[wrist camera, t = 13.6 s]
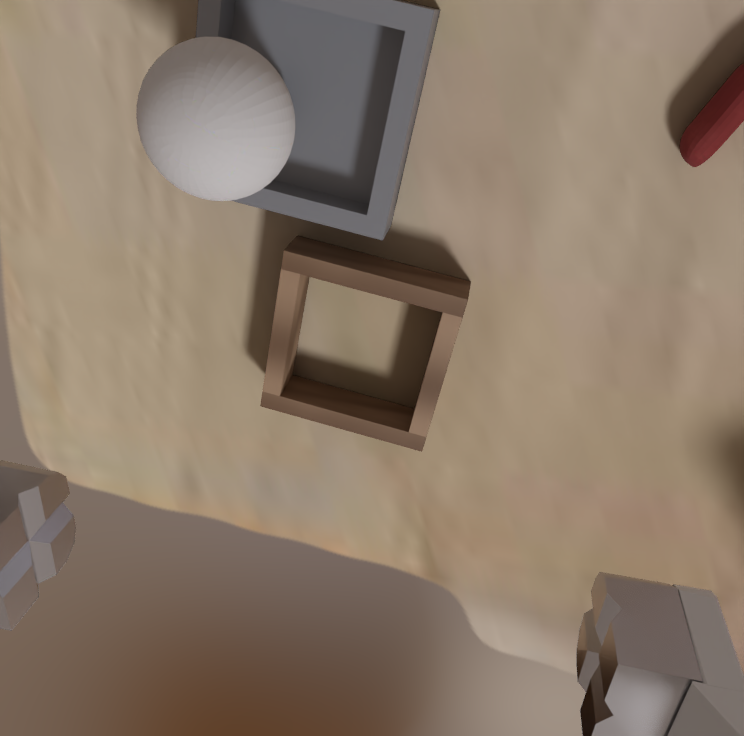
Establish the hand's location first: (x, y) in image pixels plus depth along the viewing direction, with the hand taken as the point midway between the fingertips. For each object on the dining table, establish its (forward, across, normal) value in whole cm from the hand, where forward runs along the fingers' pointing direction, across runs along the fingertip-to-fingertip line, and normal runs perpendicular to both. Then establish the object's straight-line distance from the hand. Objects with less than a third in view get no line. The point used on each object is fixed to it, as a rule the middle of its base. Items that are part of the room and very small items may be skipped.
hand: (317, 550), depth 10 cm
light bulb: (+26, +9, -2) cm, 27 cm away
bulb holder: (+26, +4, +10) cm, 28 cm away
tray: (+26, +7, -2) cm, 27 cm away
